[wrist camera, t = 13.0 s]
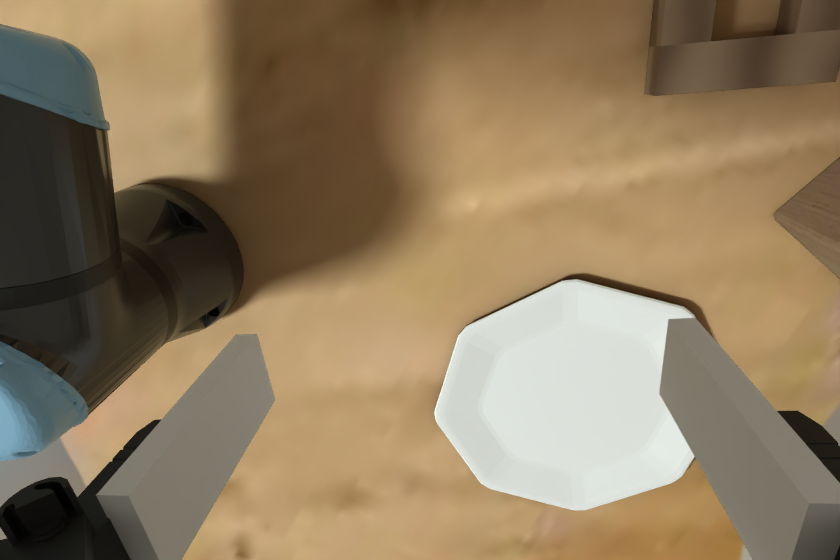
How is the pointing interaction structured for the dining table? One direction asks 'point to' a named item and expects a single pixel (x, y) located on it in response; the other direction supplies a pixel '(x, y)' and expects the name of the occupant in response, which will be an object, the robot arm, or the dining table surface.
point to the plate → (566, 397)
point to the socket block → (741, 49)
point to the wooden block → (817, 217)
